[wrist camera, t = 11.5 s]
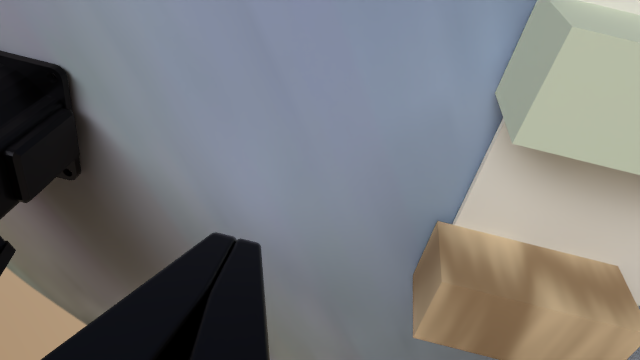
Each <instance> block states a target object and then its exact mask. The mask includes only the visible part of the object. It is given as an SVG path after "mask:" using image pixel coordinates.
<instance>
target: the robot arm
mask: <svg viewBox="0 0 640 360" xmlns="http://www.w3.org/2000/svg"><path fill="white" fill-rule="evenodd" d="M52 73H53V74H54V75H55V76H56V77H57V79H56V78H55V77H54V76H53V75H52ZM68 169H69V170H70V171H69V170H68ZM80 173H81V168H80V161H79V147H78V140H77V133H76V126H75V119H74V115H73V113H72V106H71V99H70V92H69V85H68V78H67V75H66V72H65V71H64V70H63V69H62V68H61V67H60V66H58V65H56V64H52V63H48V62H44V61H40V60H36V59H32V58H27V57H23V56H19V55H15V54H11V53H7V52H3V51H0V219H1V218H3V217H4V216H5V215H6V214H7V213H8V212H9V211H10V210H11V209H12V208H14V207H15V206H16V205H17V204H18V203H19V202H23V203H27V202H29V201H30V200H32V199H33V198H34V197H35V196H36V195H37V194H38V193H39V192H41V191H42V190H43V189H44V188H45V187H46V186H47V185H48V184H49V183H50V182H51V181H52V180H53V179H54V178H56V177H59V178H63V179H67V180H75V179H76V178H77V177H78V176H79V175H80ZM15 251H16V250H15V249H14V248H13V246H12V245H11V244H10V243H9V242H8V241H4V239H3V238H2V237H1V236H0V276H1V274H2V272H3V271H4V269H5V268H6V266H7V264H8V263H9V261H10V260H11V258H12V256H13V255H14V253H15ZM41 360H270V358H269V345H268V332H267V319H266V306H265V294H264V281H263V268H262V255H261V246H260V244H259V243H257V242H253V241H249V240H245V239H238V240H236V238H235V237H233V236H229V235H225V234H221V233H212V234H210V235H209V236H208V237H206V238H205V239H204V240H202V241H201V242H200V243H198V244H197V245H195V246H194V247H193V248H191V249H190V250H189V251H187V252H186V253H185V254H183V255H182V256H181V257H179V258H178V259H176V260H175V261H174V262H172V263H171V264H170V265H168V266H167V267H166V268H164V269H163V270H162V271H160V272H159V273H158V274H156V275H155V276H153V277H152V278H151V279H149V280H148V281H147V282H145V283H144V284H143V285H141V286H140V287H139V288H137V289H136V290H134V291H133V292H132V293H130V294H129V295H128V296H126V297H125V298H124V299H122V300H121V301H120V302H118V303H117V304H116V305H114V306H113V307H111V308H110V309H109V310H107V311H106V312H105V313H103V314H102V315H101V316H99V317H98V318H97V319H95V320H94V321H92V322H91V323H90V324H88V325H87V326H86V327H84V328H83V329H82V330H80V331H79V332H78V333H76V334H75V335H74V336H72V337H71V338H69V339H68V340H67V341H65V342H64V343H63V344H61V345H60V346H59V347H57V348H56V349H55V350H53V351H52V352H50V353H49V354H48V355H46V356H45V357H44V358H42V359H41Z"/></svg>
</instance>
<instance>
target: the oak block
mask: <svg viewBox="0 0 640 360" xmlns="http://www.w3.org/2000/svg"><path fill="white" fill-rule="evenodd" d="M413 338H417V339H421V340H424V341H428V342H432V343H436V344H440V345H444V346H448V347H452V348H456V349H460V350H464V351H468V352H472V353H476V354H479V355H483V356H487V357H491V358H495V359H499V360H626V359H628V358H629V357H630V356H631V355H632V354H633V353H634V352H635V351H636V350H637V349H638V348H639V347H640V310H639V308H638V306H637V304H636V302H635V300H634V298H633V296H632V294H631V292H630V290H629V288H628V286H627V284H626V281H625V279H624V277H623V275H622V273H621V271H620V269H619V267H618V266H616V265H612V264H608V263H604V262H600V261H596V260H592V259H588V258H584V257H580V256H576V255H572V254H568V253H564V252H560V251H556V250H552V249H548V248H544V247H540V246H536V245H532V244H528V243H524V242H520V241H516V240H512V239H508V238H504V237H500V236H496V235H492V234H488V233H484V232H480V231H476V230H472V229H468V228H464V227H460V226H456V225H452V224H448V223H444V222H440V221H437V223H436V226H435V228H434V230H433V232H432V234H431V237H430V239H429V241H428V243H427V245H426V248H425V250H424V252H423V254H422V256H421V259H420V261H419V263H418V265H417V267H416V270H415V272H414V274H413Z"/></svg>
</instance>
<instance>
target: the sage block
mask: <svg viewBox="0 0 640 360" xmlns="http://www.w3.org/2000/svg"><path fill="white" fill-rule="evenodd" d="M495 94H496V97H497V100H498V103H499V106H500V109H501V112H502V115H503V118H504V121H505V124H506V127H507V130H508V133H509V136H510V139H511V142H512V144H515V145H519V146H523V147H527V148H532V149H536V150H540V151H544V152H548V153H552V154H556V155H560V156H564V157H568V158H572V159H576V160H580V161H584V162H588V163H592V164H597V165H601V166H605V167H609V168H613V169H617V170H621V171H625V172H629V173H633V174H637V175H640V15H637V14H633V13H629V12H625V11H621V10H616V9H612V8H608V7H604V6H600V5H596V4H591V3H587V2H583V1H579V0H537V2H536V4H535V6H534V8H533V10H532V13H531V15H530V17H529V19H528V21H527V24H526V26H525V28H524V30H523V33H522V35H521V37H520V39H519V41H518V44H517V46H516V48H515V50H514V52H513V55H512V57H511V59H510V61H509V63H508V66H507V68H506V70H505V72H504V75H503V77H502V79H501V81H500V83H499V86H498V88H497V90H496V92H495Z"/></svg>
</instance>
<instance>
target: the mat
mask: <svg viewBox="0 0 640 360" xmlns="http://www.w3.org/2000/svg"><path fill="white" fill-rule="evenodd" d="M579 1H583V2H587V3H591V4H596V5H600V6H604V7H608V8H612V9H616V10H621V11H625V12H629V13H633V14H637V15H640V0H579ZM452 225H456V226H460V227H464V228H468V229H472V230H476V231H480V232H484V233H488V234H492V235H496V236H500V237H504V238H508V239H512V240H516V241H520V242H524V243H528V244H532V245H536V246H540V247H544V248H548V249H552V250H556V251H560V252H564V253H568V254H572V255H576V256H580V257H584V258H588V259H592V260H596V261H600V262H604V263H608V264H612V265H616V266H618V267H619V269H620V271H621V273H622V275H623V277H624V279H625V281H626V284H627V286H628V288H629V290H630V292H631V294H632V296H633V298H634V300H635V302H636V304H637V306H639V305H640V175H637V174H633V173H629V172H625V171H621V170H617V169H613V168H609V167H605V166H601V165H597V164H592V163H588V162H584V161H580V160H576V159H572V158H568V157H564V156H560V155H556V154H552V153H548V152H544V151H540V150H536V149H532V148H527V147H523V146H519V145H515V144H512V142H511V139H510V136H509V133H508V130H507V127H506V124H505V121H504V118H503V119H502V121H501V124H500V126H499V128H498V130H497V132H496V134H495V136H494V138H493V140H492V142H491V144H490V146H489V149H488V151H487V153H486V155H485V157H484V159H483V161H482V163H481V165H480V167H479V169H478V172H477V174H476V176H475V178H474V180H473V182H472V184H471V186H470V188H469V190H468V192H467V194H466V197H465V199H464V201H463V203H462V205H461V207H460V209H459V211H458V213H457V215H456V217H455V220H454V222H453V224H452Z"/></svg>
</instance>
